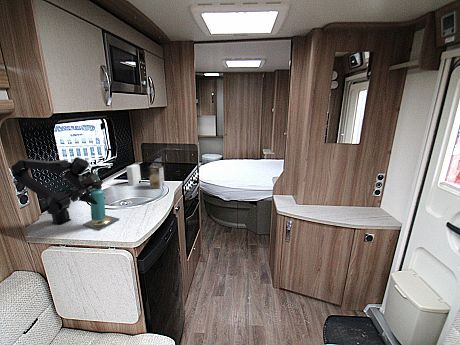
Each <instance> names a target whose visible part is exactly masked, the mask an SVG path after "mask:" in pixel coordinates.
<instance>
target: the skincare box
mask: <svg viewBox="0 0 460 345" xmlns="http://www.w3.org/2000/svg"><path fill="white" fill-rule="evenodd" d="M125 169H126V175H127V181H128V185H129V186H136V185H138V184H140V183H139V181H141V182H142V178H141V176H142V175H141V168H140V164H134V163H133V164H131V165H128V166H126V168H125Z"/></svg>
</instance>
